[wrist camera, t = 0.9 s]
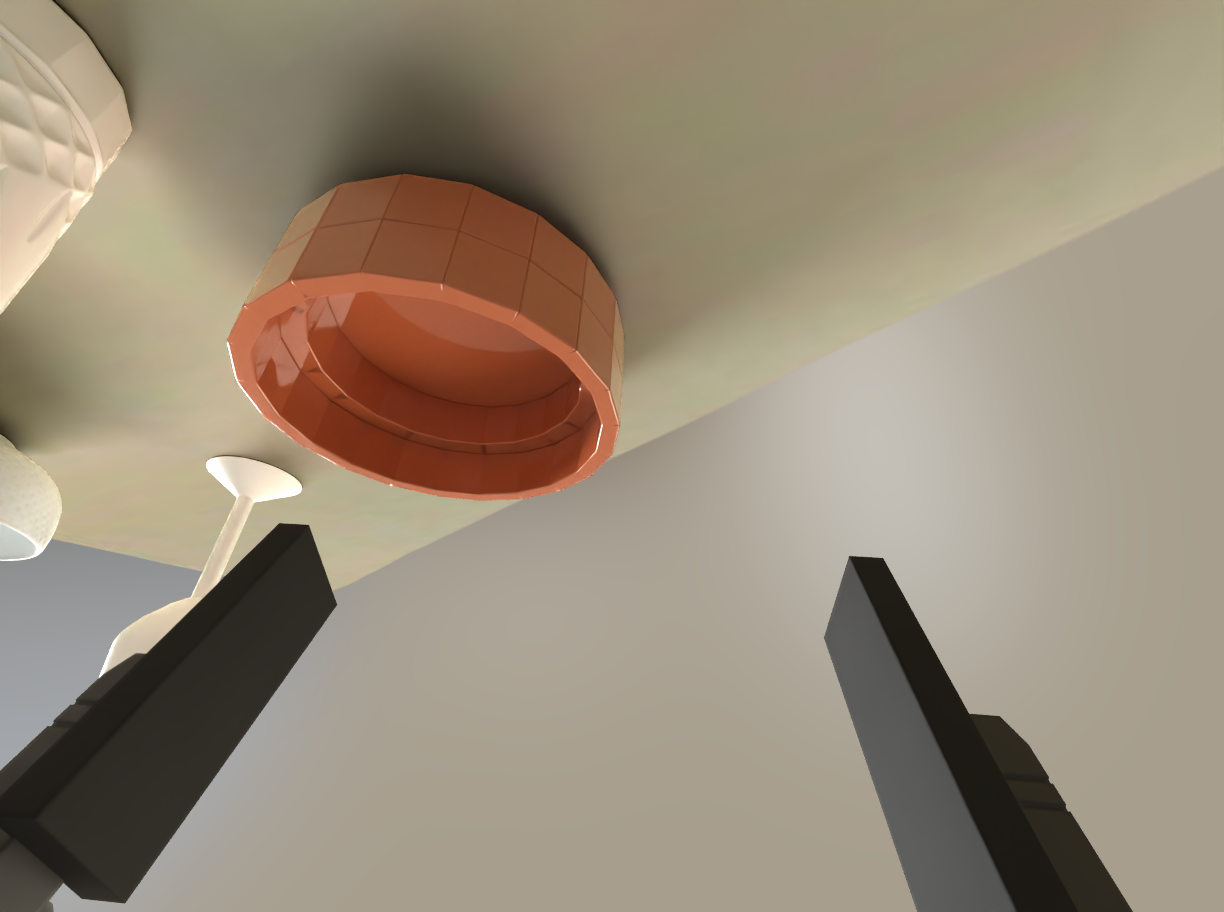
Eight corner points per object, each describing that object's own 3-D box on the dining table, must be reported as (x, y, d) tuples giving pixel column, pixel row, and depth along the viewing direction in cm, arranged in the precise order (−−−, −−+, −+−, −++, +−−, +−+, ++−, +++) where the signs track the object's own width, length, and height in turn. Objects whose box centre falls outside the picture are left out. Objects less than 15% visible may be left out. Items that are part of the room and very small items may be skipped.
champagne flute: (319, 496, 44) (186, 850, 32) (246, 497, 45) (89, 842, 33) (266, 455, 38) (79, 866, 26) (184, 456, 39) (-36, 856, 27)
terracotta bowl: (198, 194, 21) (116, 301, 17) (584, 131, 18) (568, 245, 15) (401, 420, 34) (375, 504, 31) (642, 404, 31) (640, 495, 28)
